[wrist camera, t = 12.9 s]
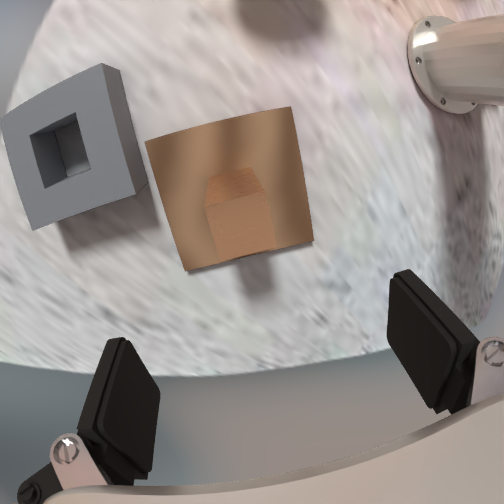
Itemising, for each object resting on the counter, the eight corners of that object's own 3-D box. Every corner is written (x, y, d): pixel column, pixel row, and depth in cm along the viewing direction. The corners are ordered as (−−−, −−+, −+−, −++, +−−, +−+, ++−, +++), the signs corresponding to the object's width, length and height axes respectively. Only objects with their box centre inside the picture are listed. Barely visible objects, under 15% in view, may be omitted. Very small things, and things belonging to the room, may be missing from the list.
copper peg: (250, 166, 28) (265, 191, 19) (259, 205, 30) (277, 247, 21) (208, 176, 28) (204, 206, 19) (219, 215, 30) (220, 261, 21)
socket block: (119, 70, 24) (101, 62, 19) (148, 181, 29) (135, 194, 24) (25, 115, 24) (-1, 118, 19) (54, 214, 29) (32, 230, 24)
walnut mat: (288, 106, 27) (290, 106, 26) (311, 236, 33) (313, 240, 32) (147, 140, 27) (144, 141, 26) (185, 266, 33) (184, 271, 32)
